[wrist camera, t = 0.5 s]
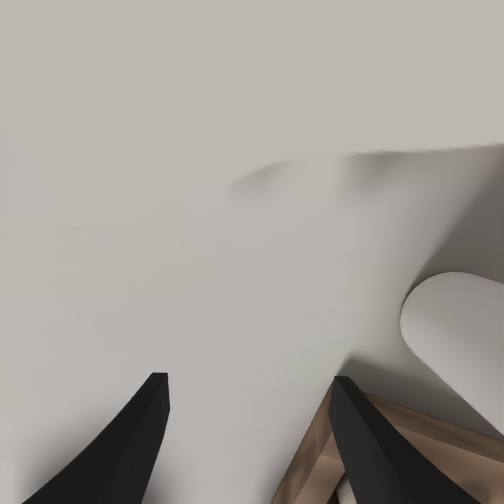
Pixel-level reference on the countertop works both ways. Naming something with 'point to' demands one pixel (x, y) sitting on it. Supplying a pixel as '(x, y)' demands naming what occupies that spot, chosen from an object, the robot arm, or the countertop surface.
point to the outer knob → (345, 491)
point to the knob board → (418, 434)
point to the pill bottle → (461, 337)
